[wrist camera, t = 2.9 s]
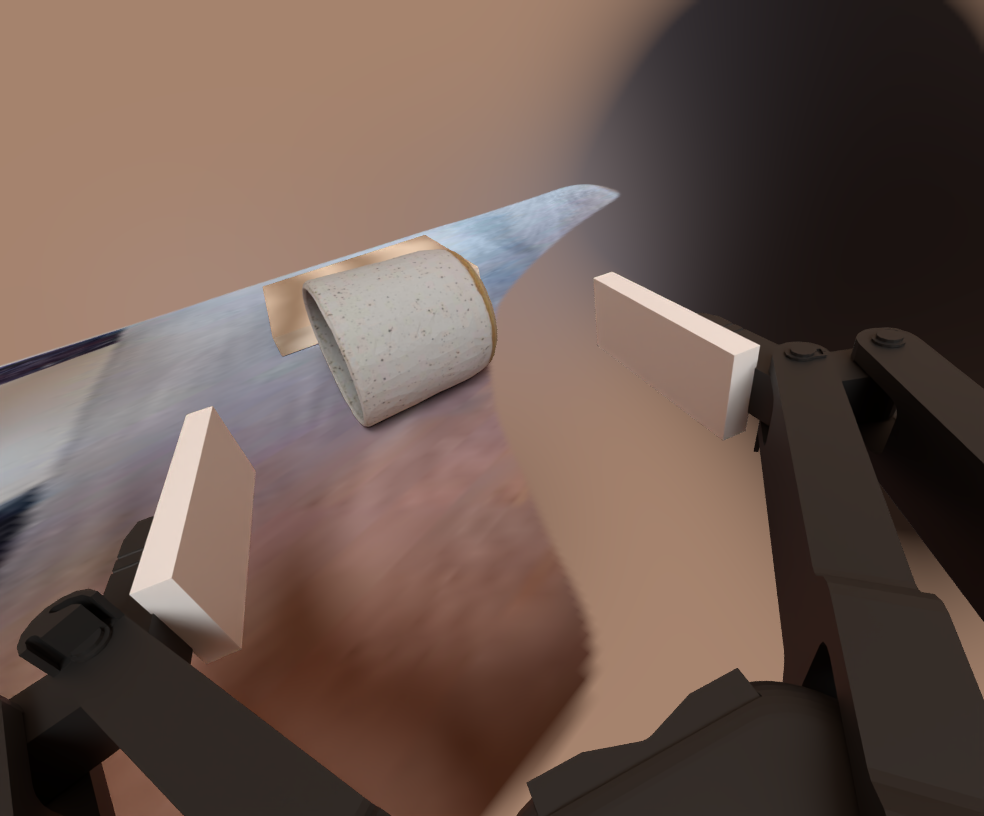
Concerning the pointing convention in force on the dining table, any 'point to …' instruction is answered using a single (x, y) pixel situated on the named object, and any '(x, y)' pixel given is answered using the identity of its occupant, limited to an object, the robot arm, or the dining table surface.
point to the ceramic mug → (401, 329)
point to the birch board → (286, 295)
